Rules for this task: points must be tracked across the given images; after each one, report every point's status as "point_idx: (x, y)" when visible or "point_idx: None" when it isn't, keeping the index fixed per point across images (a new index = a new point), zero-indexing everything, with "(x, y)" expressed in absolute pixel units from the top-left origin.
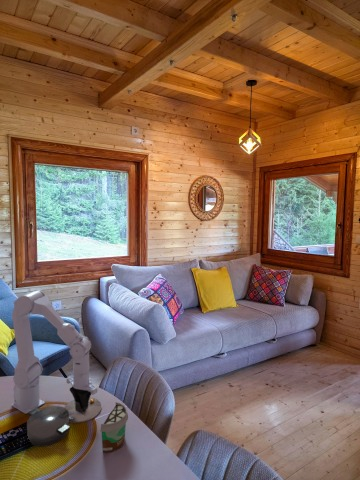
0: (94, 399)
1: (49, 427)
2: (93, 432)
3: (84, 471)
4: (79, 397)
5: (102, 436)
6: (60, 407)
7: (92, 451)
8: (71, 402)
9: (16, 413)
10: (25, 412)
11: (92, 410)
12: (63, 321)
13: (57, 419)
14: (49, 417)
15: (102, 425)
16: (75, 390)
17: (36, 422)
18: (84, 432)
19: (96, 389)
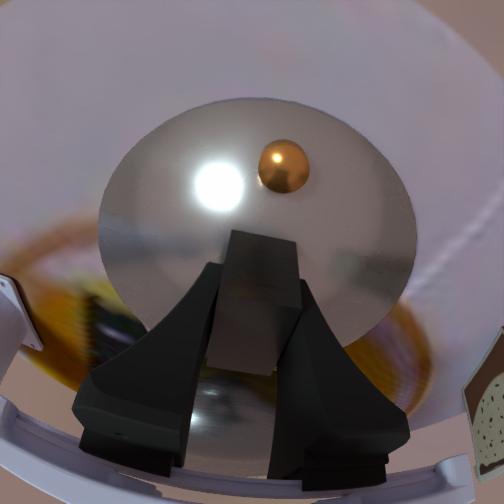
0: (282, 117)
1: (263, 471)
2: (417, 361)
3: (421, 425)
4: (205, 337)
5: (475, 442)
6: (192, 431)
7: (431, 399)
8: (112, 242)
9: (22, 344)
10: (39, 350)
11: (358, 269)
12: None
13: (259, 460)
14: (212, 457)
15: (482, 478)
16: (184, 455)
17: (192, 464)
18: (377, 373)
19: (466, 488)
